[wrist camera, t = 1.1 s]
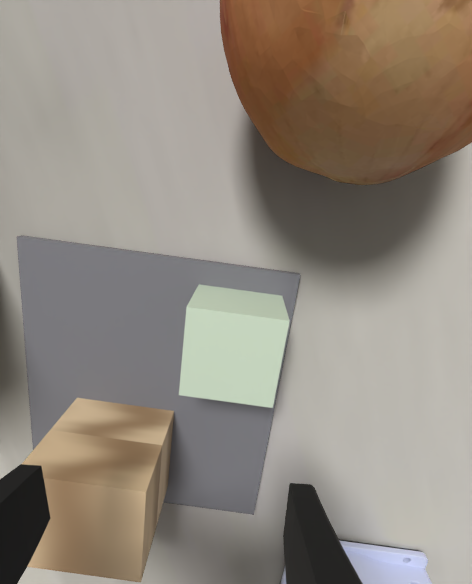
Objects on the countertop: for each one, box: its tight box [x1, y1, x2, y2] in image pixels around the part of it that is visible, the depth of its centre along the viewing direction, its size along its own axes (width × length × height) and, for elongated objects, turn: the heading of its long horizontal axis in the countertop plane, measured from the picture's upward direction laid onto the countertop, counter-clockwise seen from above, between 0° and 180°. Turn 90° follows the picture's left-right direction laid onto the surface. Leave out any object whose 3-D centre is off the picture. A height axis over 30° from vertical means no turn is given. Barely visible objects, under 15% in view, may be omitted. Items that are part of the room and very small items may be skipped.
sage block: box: [179, 284, 290, 408], centre depth 16 cm, size 4×4×4 cm
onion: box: [220, 0, 472, 185], centre depth 10 cm, size 10×10×10 cm
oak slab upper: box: [22, 430, 162, 582], centre depth 17 cm, size 6×6×3 cm
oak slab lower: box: [51, 398, 174, 526], centre depth 19 cm, size 6×6×3 cm
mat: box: [17, 236, 300, 515], centre depth 20 cm, size 15×17×1 cm
